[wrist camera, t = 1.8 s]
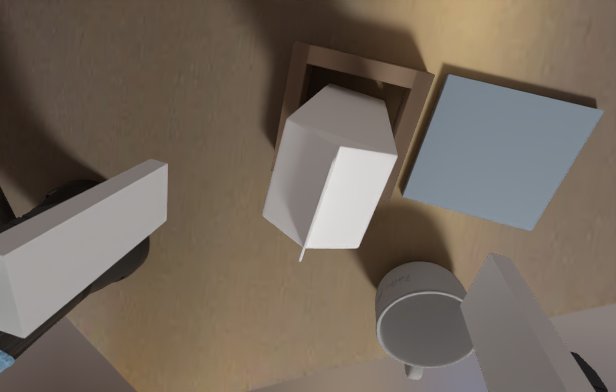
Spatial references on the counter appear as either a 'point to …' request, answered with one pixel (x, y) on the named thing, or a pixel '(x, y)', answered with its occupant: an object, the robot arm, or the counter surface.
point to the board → (497, 151)
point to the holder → (364, 67)
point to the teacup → (422, 317)
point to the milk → (331, 169)
